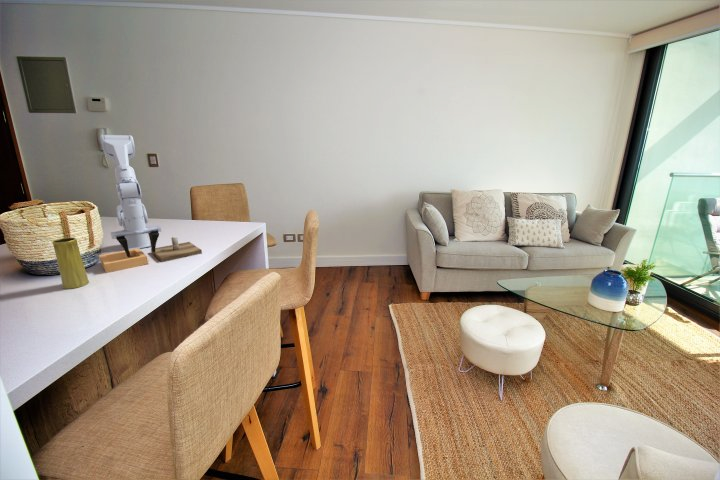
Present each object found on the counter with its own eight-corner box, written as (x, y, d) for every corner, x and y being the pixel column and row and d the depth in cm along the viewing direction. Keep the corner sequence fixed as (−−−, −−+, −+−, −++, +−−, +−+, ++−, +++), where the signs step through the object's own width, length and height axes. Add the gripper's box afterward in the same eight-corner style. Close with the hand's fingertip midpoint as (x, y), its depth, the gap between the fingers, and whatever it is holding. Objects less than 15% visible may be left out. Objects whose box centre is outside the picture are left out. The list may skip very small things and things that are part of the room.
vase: (74, 290, 93) (61, 243, 89) (57, 287, 95) (44, 242, 90) (94, 281, 99) (83, 237, 95) (78, 279, 100) (67, 236, 96)
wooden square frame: (100, 263, 114) (98, 255, 113) (140, 255, 122) (138, 248, 121) (106, 272, 106) (104, 264, 105) (148, 263, 114) (146, 256, 113)
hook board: (151, 252, 125) (148, 238, 123) (189, 245, 135) (187, 231, 133) (161, 261, 116) (158, 246, 114) (201, 253, 125) (199, 238, 124)
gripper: (110, 222, 103) (119, 261, 107) (160, 216, 113) (167, 252, 117) (106, 218, 108) (115, 256, 112) (155, 212, 118) (161, 247, 122)
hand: (141, 253), depth 115 cm, fingers open, 7 cm apart
